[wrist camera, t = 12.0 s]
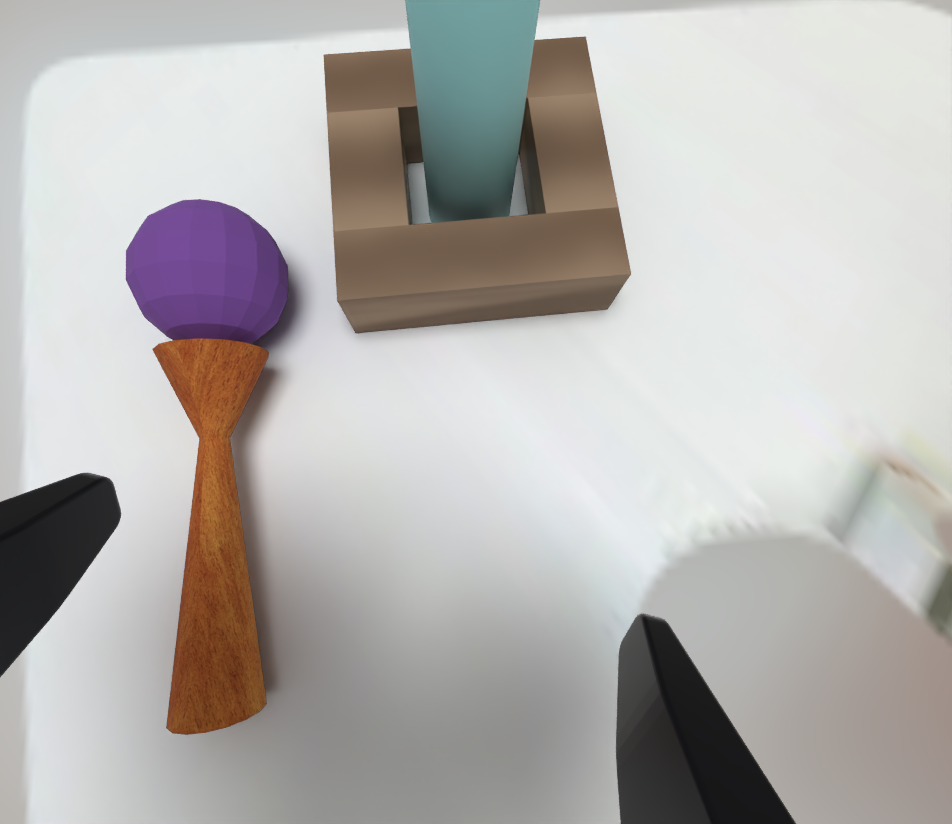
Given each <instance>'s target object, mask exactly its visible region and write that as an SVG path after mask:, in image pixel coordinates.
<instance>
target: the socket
mask: <svg viewBox="0 0 952 824" xmlns="http://www.w3.org/2000/svg"><path fill="white" fill-rule="evenodd" d="M324 70H325V88H326V106H327V124H328V142H329V160H330V178H331V196H332V214H333V232H334V250H335V268H336V286H337V301H338V303H339V304H340V306H341V308H342V310H343V312H344V313H345V315H346V317H347V319H348V320H349V322H350V324H351V326H352V327H353V329H354V331H355V333H361V332H371V331H382V330H393V329H403V328H414V327H424V326H435V325H446V324H456V323H467V322H477V321H488V320H498V319H509V318H520V317H530V316H541V315H551V314H562V313H573V312H583V311H594V310H604V309H608V308H609V306H610V305H611V303H612V302H613V300H614V299H615V297H616V296H617V294H618V293H619V291H620V290H621V288H622V287H623V285H624V284H625V282H626V281H627V279H628V278H629V276H630V275H631V271H630V265H629V260H628V255H627V250H626V245H625V239H624V234H623V229H622V224H621V219H620V213H619V208H618V203H617V198H616V193H615V187H614V182H613V177H612V172H611V166H610V161H609V156H608V151H607V146H606V140H605V135H604V130H603V125H602V120H601V114H600V109H599V104H598V99H597V94H596V88H595V83H594V78H593V73H592V67H591V62H590V57H589V52H588V47H587V41H586V37H573V38H559V39H544V40H534V46H533V53H532V60H531V67H530V74H529V81H528V88H527V95H526V102H525V109H524V116H523V123H522V129H521V136H520V143H519V150H518V154H520V160H521V167H522V174H523V180H524V187H525V194H526V201H527V207H528V214H529V215H520V216H508V217H497V218H485V219H473V220H461V221H450V222H438V223H426V224H414V225H412V216H411V205H410V194H409V183H408V173H407V163H412V162H423V153H422V144H421V135H420V126H419V117H418V109H417V100H416V91H415V82H414V73H413V64H412V55H411V49H399V50H384V51H370V52H355V53H341V54H326V55H324Z"/></svg>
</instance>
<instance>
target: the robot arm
mask: <svg viewBox="0 0 952 824" xmlns="http://www.w3.org/2000/svg"><path fill="white" fill-rule="evenodd" d="M120 518H121V510H120V506H119V502H118V498H117V495H116V491H115V487H114V484H113V482H112V481H111V480H110V479H109V478H107V477H104V476H100V475H96V474H92V473H80V474H77V475H74V476H71V477H69V478H66V479H63V480H60V481H57V482H55V483H52V484H49V485H46V486H43V487H41V488H38V489H35V490H32V491H29V492H27V493H24V494H21V495H18V496H16V497H13V498H10V499H7V500H4V501H2V502H0V677H1V676H2V675H3V674H4V672H5V671H6V670H7V669H8V668H9V667H10V665H11V664H12V663H13V662H14V661H15V660H16V658H17V657H18V656H19V655H20V654H21V653H22V651H23V650H24V649H25V648H26V647H27V646H28V644H29V643H30V642H31V641H32V640H33V639H34V637H35V636H36V635H37V634H38V633H39V632H40V630H41V629H42V628H43V627H44V626H45V624H46V623H47V622H48V621H49V620H50V619H51V617H52V616H53V615H54V614H55V612H56V611H57V610H58V609H59V607H60V606H61V605H62V603H63V602H64V601H65V599H66V598H67V597H68V596H69V594H70V593H71V591H72V590H73V589H74V587H75V586H76V584H77V583H78V581H79V580H80V579H81V577H82V576H83V574H84V573H85V572H86V570H87V569H88V567H89V566H90V564H91V563H92V562H93V560H94V559H95V557H96V556H97V555H98V553H99V552H100V550H101V549H102V547H103V546H104V545H105V543H106V542H107V540H108V539H109V538H110V536H111V535H112V533H113V532H114V530H115V529H116V527H117V526H118V524H119V521H120ZM616 761H617V778H618V792H619V805H620V819H621V824H796V823H795V821H794V820H793V818H792V817H791V815H790V813H789V812H788V810H787V809H786V807H785V806H784V804H783V802H782V801H781V799H780V798H779V796H778V795H777V793H776V792H775V790H774V788H773V787H772V785H771V784H770V782H769V781H768V779H767V777H766V776H765V774H764V773H763V771H762V770H761V768H760V766H759V765H758V763H757V762H756V760H755V759H754V757H753V755H752V754H751V753H750V751H749V749H748V748H747V746H746V745H745V743H744V742H743V740H742V738H741V737H740V735H739V734H738V732H737V730H736V729H735V727H734V726H733V724H732V723H731V721H730V719H729V718H728V716H727V715H726V713H725V712H724V710H723V709H722V707H721V705H720V704H719V702H718V701H717V699H716V698H715V696H714V695H713V693H712V691H711V690H710V688H709V687H708V685H707V683H706V682H705V681H704V679H703V677H702V676H701V674H700V673H699V671H698V669H697V668H696V666H695V665H694V663H693V662H692V660H691V658H690V657H689V655H688V654H687V652H686V651H685V649H684V648H683V646H682V644H681V643H680V641H679V640H678V638H677V637H676V635H675V633H674V632H673V630H672V629H671V627H670V626H669V624H668V623H667V622H666V621H665V620H664V619H662V618H659V617H655V616H651V615H647V614H639V615H638V616H637V617H636V618H635V620H634V621H633V623H632V625H631V627H630V628H629V630H628V632H627V633H626V635H625V637H624V638H623V640H622V642H621V645H620V650H619V664H618V697H617V729H616Z"/></svg>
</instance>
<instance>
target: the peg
mask: <svg viewBox="0 0 952 824" xmlns="http://www.w3.org/2000/svg"><path fill="white" fill-rule="evenodd" d="M405 2H406V11H407V20H408V29H409V38H410V46H411V55H412V64H413V73H414V82H415V91H416V100H417V109H418V117H419V126H420V135H421V144H422V153H423V162H424V171H425V180H426V188H427V197H428V206H429V215H430V219H431V222H432V223H438V222H450V221H461V220H473V219H485V218H497V217H508V216H509V213H510V206H511V199H512V192H513V185H514V178H515V171H516V164H517V157H518V150H519V143H520V136H521V129H522V123H523V116H524V109H525V102H526V95H527V88H528V81H529V74H530V67H531V60H532V53H533V46H534V39H535V33H536V26H537V19H538V11H539V4H540V0H405Z"/></svg>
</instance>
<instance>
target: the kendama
mask: <svg viewBox="0 0 952 824" xmlns="http://www.w3.org/2000/svg"><path fill="white" fill-rule="evenodd" d="M126 281H127V283H128V285H129V287H130V289H131V291H132V293H133V296H134V298H135V300H136V302H137V304H138V306H139V308H140V310H141V312H142V314H143V315H144V317H145V318H146V319H147V320H148V321H150V322H151V323H152V324H153V325H154V326H155V327H157V328H158V329H159V330H160V331H161V332H162V333H164V334H165V335H166V336H167V337H169V338H171V339H173V341H169V342H165V343H161V344H158V345H157V346H156V347H154V348H153V351H154V353H155V355H156V357H157V359H158V361H159V363H160V365H161V367H162V368H163V370H164V372H165V374H166V376H167V378H168V380H169V382H170V384H171V385H172V387H173V389H174V391H175V393H176V395H177V397H178V399H179V401H180V402H181V404H182V406H183V408H184V410H185V412H186V414H187V416H188V418H189V420H190V421H191V423H192V425H193V427H194V429H195V431H196V433H197V435H198V437H199V438H200V439H199V447H198V456H197V465H196V474H195V482H194V491H193V500H192V509H191V517H190V526H189V535H188V543H187V552H186V561H185V570H184V578H183V587H182V596H181V605H180V613H179V622H178V631H177V640H176V648H175V657H174V666H173V674H172V683H171V692H170V701H169V709H168V718H167V727H166V728H167V729H168V730H169V731H171V732H172V733H177V734H185V735H187V734H197V733H206V732H210V731H214V730H218V729H222V728H226V727H229V726H231V725H234V724H236V723H239V722H241V721H244V720H246V719H248V718H250V717H251V716H253V715H255V714H256V713H258V712H260V711H261V710H262V708H263V707H264V706H265V705H266V704H267V703H266V694H265V687H264V680H263V673H262V666H261V658H260V651H259V644H258V637H257V630H256V622H255V615H254V608H253V601H252V594H251V587H250V579H249V572H248V565H247V558H246V551H245V543H244V536H243V529H242V522H241V515H240V508H239V500H238V493H237V486H236V479H235V472H234V465H233V457H232V450H231V443H230V437H231V434H232V432H233V430H234V428H235V426H236V424H237V422H238V420H239V418H240V415H241V413H242V411H243V409H244V407H245V405H246V403H247V401H248V399H249V397H250V394H251V392H252V390H253V388H254V386H255V384H256V382H257V380H258V378H259V376H260V373H261V371H262V369H263V367H264V365H265V363H266V361H267V359H268V355H269V352H268V351H266V350H265V349H263V348H262V347H259V346H256V345H252V344H251V343H253V342H255V341H257V340H258V339H259V338H260V337H262V336H263V335H264V334H265V333H266V332H268V331H269V330H270V329H271V328H272V327H274V326H275V325H276V324H277V322H278V320H279V318H280V315H281V313H282V311H283V308H284V306H285V304H286V301H287V297H288V266H287V264H286V262H285V260H284V258H283V256H282V254H281V252H280V250H279V248H278V246H277V244H276V242H275V240H274V239H273V238H272V236H271V235H270V234H269V232H268V231H267V230H266V229H265V228H263V227H262V226H261V225H260V224H258V223H257V222H256V221H255V220H254V219H252V218H251V217H250V216H249V215H247V214H246V213H244V212H242V211H241V210H239V209H237V208H235V207H232V206H229V205H226V204H223V203H220V202H215V201H208V200H201V199H199V200H183V201H180V202H177V203H174V204H172V205H169V206H167V207H165V208H163V209H161V210H159V211H157V212H155V213H153V214H151V215H149V216H148V217H147V218H146V219H145V221H144V222H143V224H142V225H141V227H140V228H139V230H138V232H137V233H136V235H135V237H134V238H133V240H132V242H131V243H130V245H129V247H128V248H127V250H126Z"/></svg>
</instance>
